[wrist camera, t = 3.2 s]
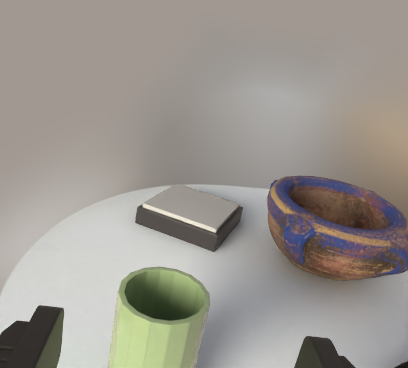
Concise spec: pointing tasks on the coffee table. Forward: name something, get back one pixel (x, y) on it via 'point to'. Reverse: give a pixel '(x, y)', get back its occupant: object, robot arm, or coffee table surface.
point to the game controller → (403, 365)
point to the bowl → (337, 228)
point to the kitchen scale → (190, 216)
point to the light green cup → (158, 320)
